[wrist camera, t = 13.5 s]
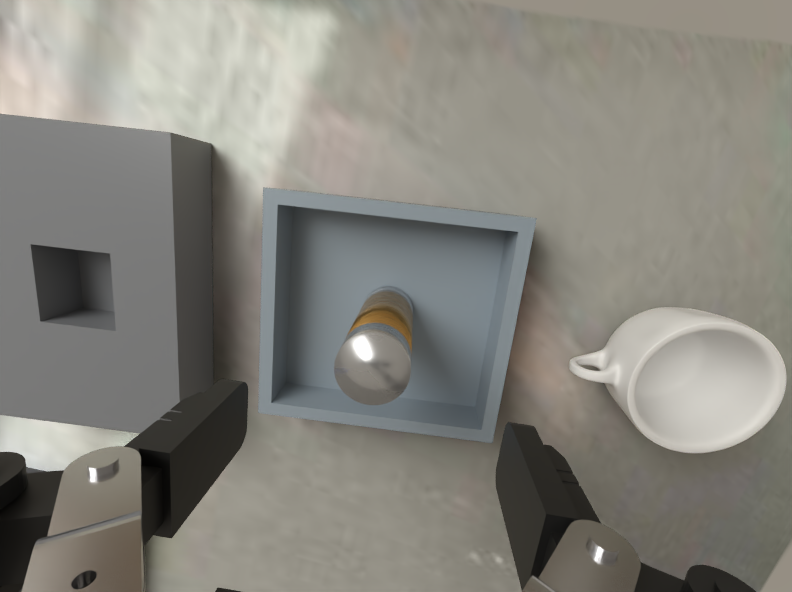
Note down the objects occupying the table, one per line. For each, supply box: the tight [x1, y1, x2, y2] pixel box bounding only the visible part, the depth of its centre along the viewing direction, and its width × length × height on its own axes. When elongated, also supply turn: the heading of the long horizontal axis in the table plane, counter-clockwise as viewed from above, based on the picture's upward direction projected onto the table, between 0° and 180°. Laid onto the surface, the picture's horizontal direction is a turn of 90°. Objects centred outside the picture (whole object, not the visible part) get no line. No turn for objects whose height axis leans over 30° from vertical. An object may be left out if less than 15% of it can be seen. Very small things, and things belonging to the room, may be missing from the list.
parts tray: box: [258, 187, 537, 443], centre depth 24 cm, size 15×14×4 cm
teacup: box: [569, 307, 786, 453], centre depth 23 cm, size 10×8×5 cm
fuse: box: [334, 286, 413, 405], centre depth 20 cm, size 3×3×9 cm
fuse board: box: [0, 114, 214, 433], centre depth 24 cm, size 12×18×4 cm, turn 174°
